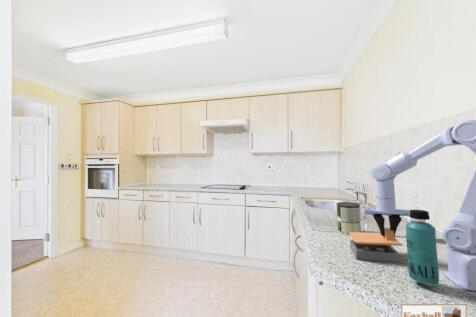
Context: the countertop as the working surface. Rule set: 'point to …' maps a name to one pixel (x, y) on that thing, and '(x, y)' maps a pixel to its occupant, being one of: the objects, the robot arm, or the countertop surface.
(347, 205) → the coffee can
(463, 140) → the robot arm
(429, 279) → the beverage bottle
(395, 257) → the parts tub
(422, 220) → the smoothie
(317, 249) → the countertop surface
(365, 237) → the tub lid
